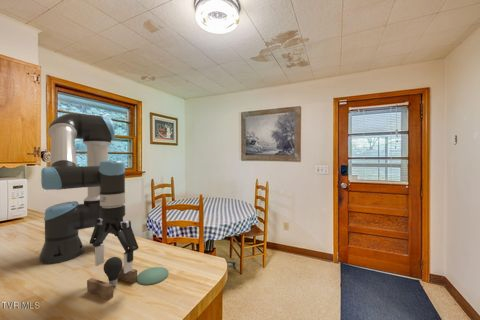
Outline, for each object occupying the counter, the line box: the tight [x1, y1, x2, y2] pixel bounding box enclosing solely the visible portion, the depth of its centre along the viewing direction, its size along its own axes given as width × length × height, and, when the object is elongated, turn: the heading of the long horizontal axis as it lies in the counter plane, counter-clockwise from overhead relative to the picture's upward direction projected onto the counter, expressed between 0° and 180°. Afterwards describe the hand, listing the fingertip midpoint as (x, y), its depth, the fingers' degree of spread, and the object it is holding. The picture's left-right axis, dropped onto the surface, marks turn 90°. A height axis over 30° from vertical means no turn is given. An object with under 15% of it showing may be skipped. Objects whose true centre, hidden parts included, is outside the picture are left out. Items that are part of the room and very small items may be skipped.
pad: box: [136, 266, 169, 286], centre depth 80 cm, size 11×11×1 cm
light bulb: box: [103, 256, 123, 288], centre depth 74 cm, size 6×6×10 cm
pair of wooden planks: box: [86, 265, 138, 301], centre depth 74 cm, size 10×11×4 cm
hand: (113, 267), depth 74 cm, fingers open, 13 cm apart
